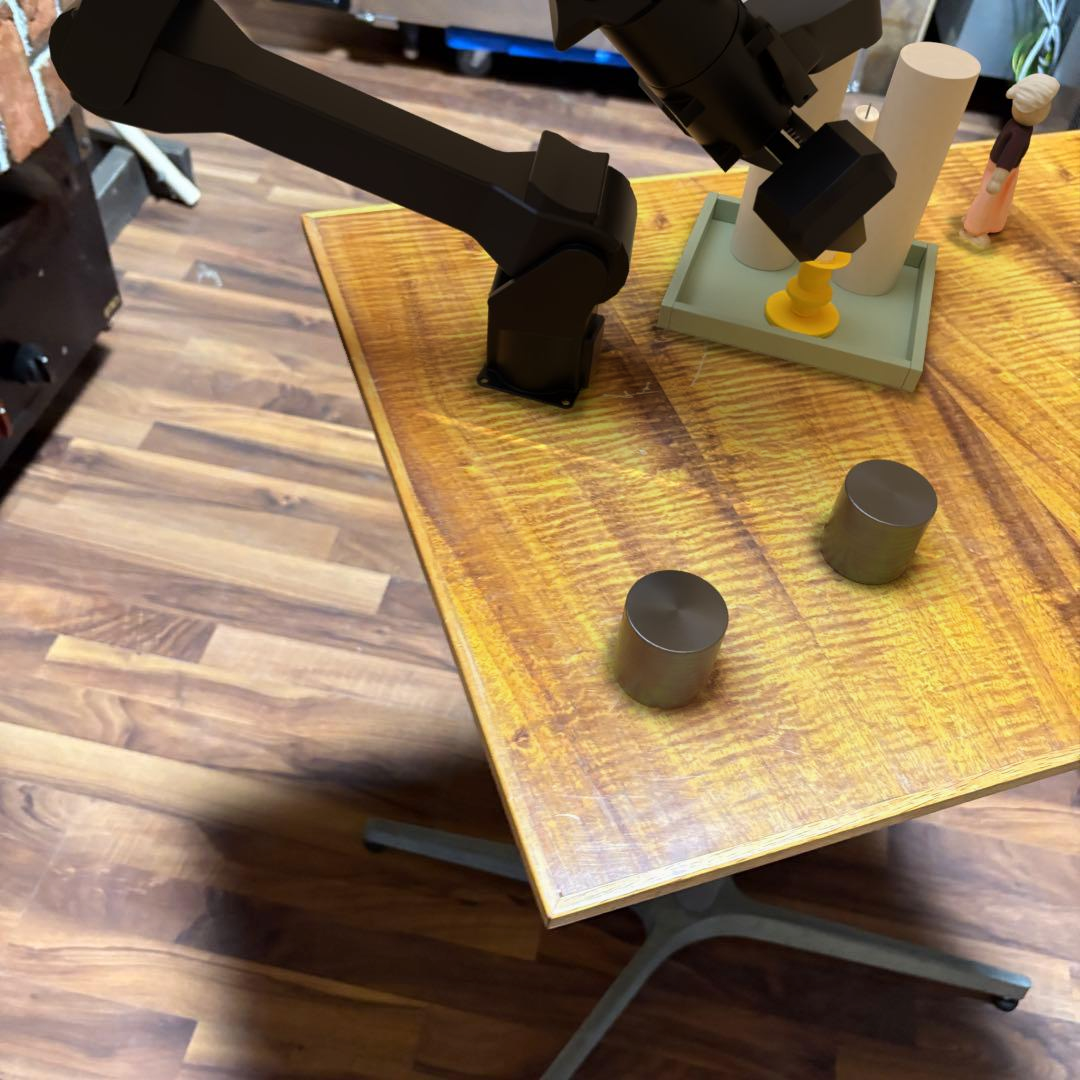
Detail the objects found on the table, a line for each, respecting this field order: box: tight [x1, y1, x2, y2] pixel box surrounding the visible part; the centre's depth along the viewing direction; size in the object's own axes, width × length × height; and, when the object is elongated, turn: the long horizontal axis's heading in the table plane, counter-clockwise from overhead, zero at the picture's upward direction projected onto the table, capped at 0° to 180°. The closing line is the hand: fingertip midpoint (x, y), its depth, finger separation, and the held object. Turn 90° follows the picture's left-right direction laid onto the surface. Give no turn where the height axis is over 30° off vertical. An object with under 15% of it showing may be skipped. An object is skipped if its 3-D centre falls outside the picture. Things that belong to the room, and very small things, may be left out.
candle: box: [764, 102, 880, 339], centre depth 66 cm, size 5×5×16 cm
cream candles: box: [730, 41, 982, 296], centre depth 70 cm, size 12×5×16 cm, turn 72°
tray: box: [656, 190, 939, 394], centre depth 73 cm, size 18×16×2 cm
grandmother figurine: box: [958, 72, 1061, 247], centre depth 77 cm, size 8×4×13 cm, turn 168°
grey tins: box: [612, 458, 939, 710], centre depth 54 cm, size 5×20×5 cm, turn 125°
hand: (817, 204), depth 62 cm, fingers open, 9 cm apart
